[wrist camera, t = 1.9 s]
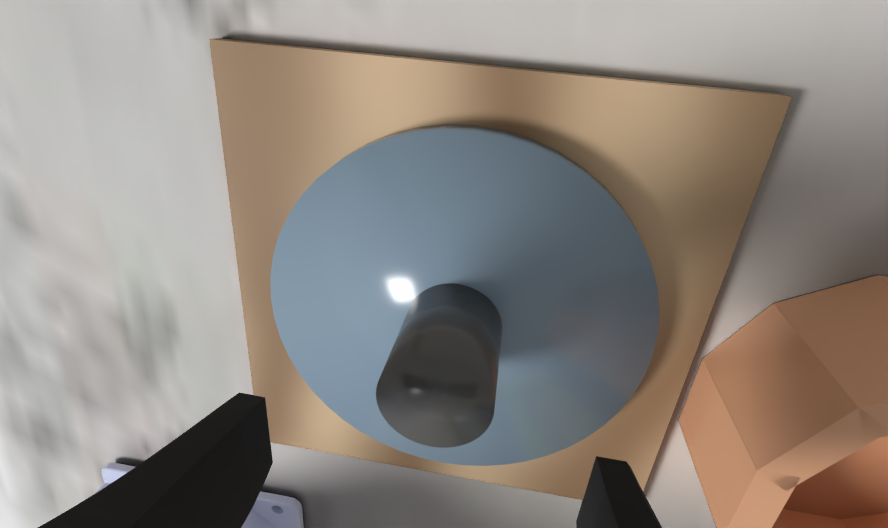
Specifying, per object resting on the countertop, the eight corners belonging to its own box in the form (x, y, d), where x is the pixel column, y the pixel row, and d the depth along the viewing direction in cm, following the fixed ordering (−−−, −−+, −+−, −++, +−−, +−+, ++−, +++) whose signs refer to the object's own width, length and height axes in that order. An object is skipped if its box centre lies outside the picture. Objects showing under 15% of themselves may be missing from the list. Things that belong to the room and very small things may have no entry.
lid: (293, 418, 20) (236, 515, 16) (265, 102, 14) (168, 136, 11) (605, 474, 19) (623, 593, 15) (707, 150, 13) (778, 208, 9)
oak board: (265, 431, 21) (259, 440, 21) (219, 38, 14) (209, 38, 14) (634, 498, 20) (636, 509, 19) (783, 93, 13) (792, 96, 12)
